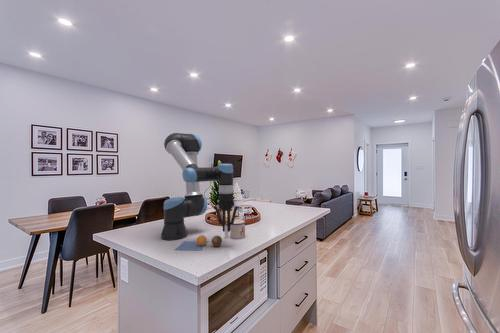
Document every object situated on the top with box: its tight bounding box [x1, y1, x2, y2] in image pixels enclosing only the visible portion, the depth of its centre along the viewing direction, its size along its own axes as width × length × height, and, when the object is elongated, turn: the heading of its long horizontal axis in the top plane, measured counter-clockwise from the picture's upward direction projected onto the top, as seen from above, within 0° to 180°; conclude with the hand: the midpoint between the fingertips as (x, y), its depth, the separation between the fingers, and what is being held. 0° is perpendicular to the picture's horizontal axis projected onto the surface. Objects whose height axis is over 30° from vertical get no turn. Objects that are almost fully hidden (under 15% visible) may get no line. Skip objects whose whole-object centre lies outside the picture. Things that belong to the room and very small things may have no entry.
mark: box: [174, 240, 210, 251], centre depth 126 cm, size 14×14×1 cm
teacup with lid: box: [229, 216, 246, 240], centre depth 142 cm, size 12×9×12 cm
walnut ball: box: [211, 235, 223, 247], centre depth 124 cm, size 6×6×6 cm
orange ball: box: [195, 234, 208, 246], centre depth 126 cm, size 6×6×6 cm
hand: (226, 237), depth 125 cm, fingers closed
